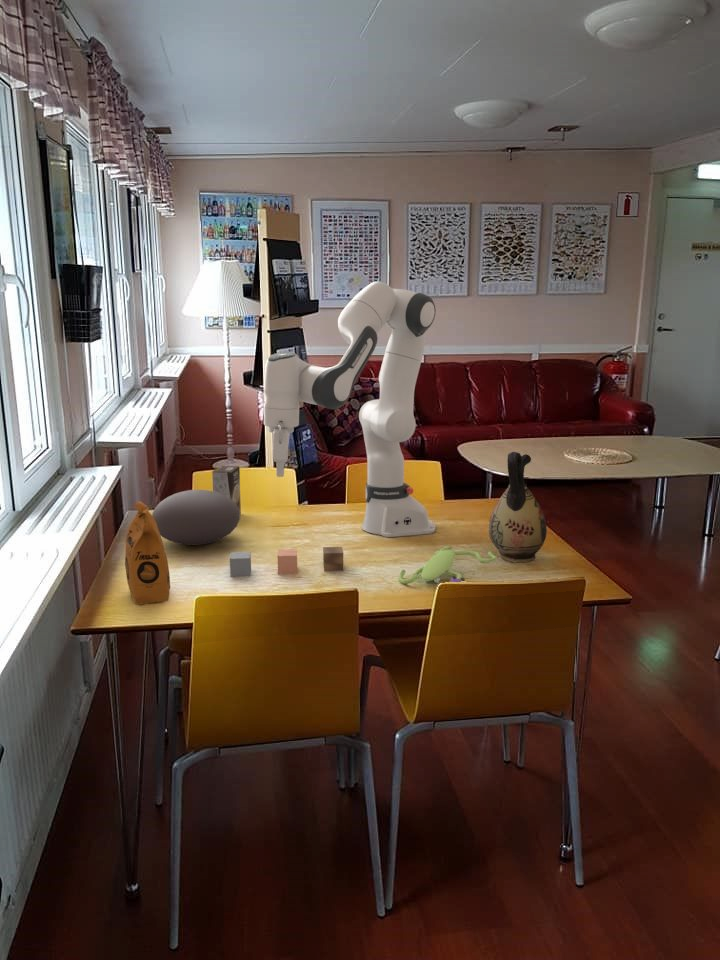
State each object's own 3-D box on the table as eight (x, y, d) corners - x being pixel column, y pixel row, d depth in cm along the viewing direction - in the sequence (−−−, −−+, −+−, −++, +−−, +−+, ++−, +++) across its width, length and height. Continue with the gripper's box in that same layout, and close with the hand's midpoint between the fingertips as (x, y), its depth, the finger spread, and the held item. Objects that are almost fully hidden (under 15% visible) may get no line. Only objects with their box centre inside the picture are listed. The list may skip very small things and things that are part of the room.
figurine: (503, 569, 200) (504, 550, 199) (452, 600, 180) (453, 578, 179) (445, 555, 211) (445, 536, 210) (390, 582, 191) (391, 562, 190)
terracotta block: (297, 567, 201) (296, 549, 200) (297, 573, 196) (297, 555, 195) (278, 567, 200) (277, 549, 199) (277, 574, 196) (277, 556, 194)
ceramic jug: (497, 545, 219) (502, 442, 211) (550, 553, 212) (557, 448, 205) (477, 563, 204) (482, 453, 197) (534, 572, 197) (541, 459, 190)
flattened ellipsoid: (241, 553, 211) (239, 501, 207) (148, 557, 207) (145, 505, 203) (240, 527, 235) (238, 480, 231) (157, 530, 231) (154, 483, 227)
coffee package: (127, 607, 174) (121, 515, 169) (127, 588, 186) (120, 501, 181) (172, 602, 177) (166, 512, 172) (168, 583, 189) (163, 498, 183)
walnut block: (342, 564, 203) (341, 546, 202) (343, 571, 198) (343, 552, 197) (323, 565, 202) (323, 547, 201) (324, 571, 198) (324, 553, 196)
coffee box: (233, 521, 240) (231, 472, 236) (213, 521, 241) (211, 471, 237) (241, 513, 249) (239, 465, 245) (222, 512, 250) (220, 465, 246)
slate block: (251, 569, 199) (250, 551, 198) (250, 576, 194) (249, 558, 193) (231, 570, 198) (231, 552, 197) (230, 577, 193) (229, 558, 192)
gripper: (293, 425, 181) (292, 482, 184) (294, 411, 200) (293, 463, 204) (267, 425, 180) (266, 481, 184) (269, 411, 200) (269, 462, 203)
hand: (280, 471), depth 194 cm, fingers open, 8 cm apart
